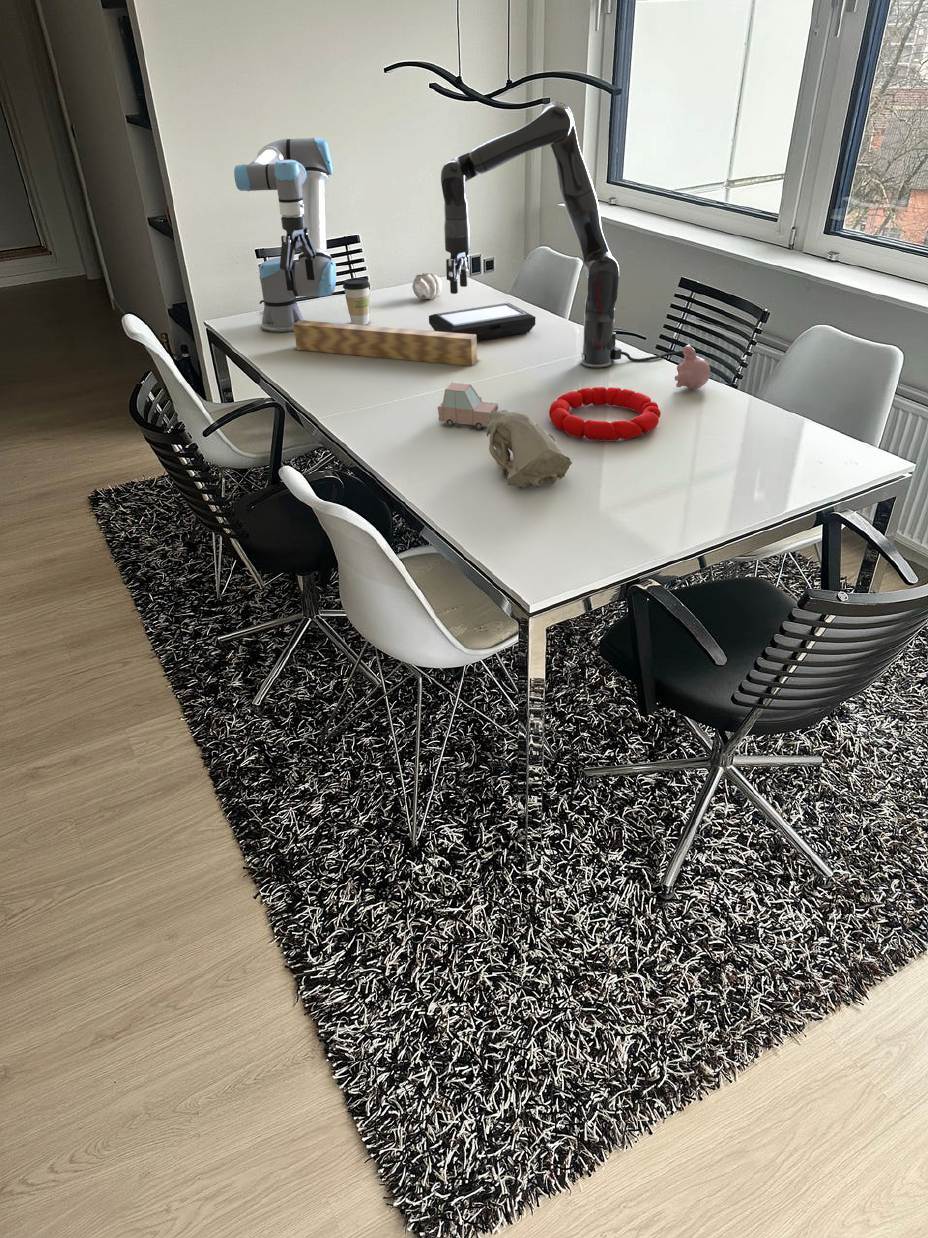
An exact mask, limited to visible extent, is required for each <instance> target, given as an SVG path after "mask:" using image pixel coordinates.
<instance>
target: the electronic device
mask: <svg viewBox="0 0 928 1238" xmlns="http://www.w3.org/2000/svg"><path fill="white" fill-rule="evenodd" d="M536 319H537V318H536V316H534V315H533V314H530V313H529V312H527V311H525V310H523V309H522V308H520V307H518V306H516V305H513V304H511V303H510V302H503V303H498V304H491V305H490V304H489V305H484V306H478V307H472V308H466V309H464V308H463V309H457V310H452V311H445V312H439V313H434V314H430V315H428V324H429V325H430V327H431V328H432V330H433V331H439V332H451V333H463V334H475V335H477V341H483V340H489V339H490V340H491V339H495V338H501V337H507V336H513V335H520V334H525V333H530V331H531V330H532V329H533V328H534V327H535V326H536Z"/></svg>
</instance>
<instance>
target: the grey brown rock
mask: <svg viewBox="0 0 928 1238" xmlns="http://www.w3.org/2000/svg"><path fill="white" fill-rule="evenodd" d="M485 436H486V438H487V437H489V438H488V440H489V444H488V445H489V446H488V450H489V454H490V456H491V457H492V458H493V459H494V460H495V462H496V464H497V466H499V468H500V470H501V471H502V472H501V478H502V479H507V480H506V484H507V486H517V487H518V486H519V488H523V489H524V488H526V486H527V485H529V483H531V485H533V486H534V487H536V488H540V485H541V484H542V482H544V483H549V484H550V485H553V484H555V483H556V482H557V480H561V479H563V478H565V476H566V474H567V472H568V471H569V469H570V467H571V466H572V464H573V462H572V461H571V458H570V457H568V456H567V455H565V453H564V451H562V449H561V448H560V446H559V444H557V443H556V439H555V438H554V436H553V435H551V434H550V433H548V432H547V431H546V430H545V429H544V428H542V427H541V426H539V425H538V424H537V423H536V424H535V422H534V421H533V419H532V418H531V417H530V416H529V415H527V414H524V413H519V412H515V411H509V410H507V409H502V410H500V411H499V410H497V411H496V412H492V413H491V414H490V422H488V423H487V427H486V435H485ZM511 453H512V454H511ZM511 455H512V457H513V458H512V460H511ZM507 474H508V475H507Z"/></svg>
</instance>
